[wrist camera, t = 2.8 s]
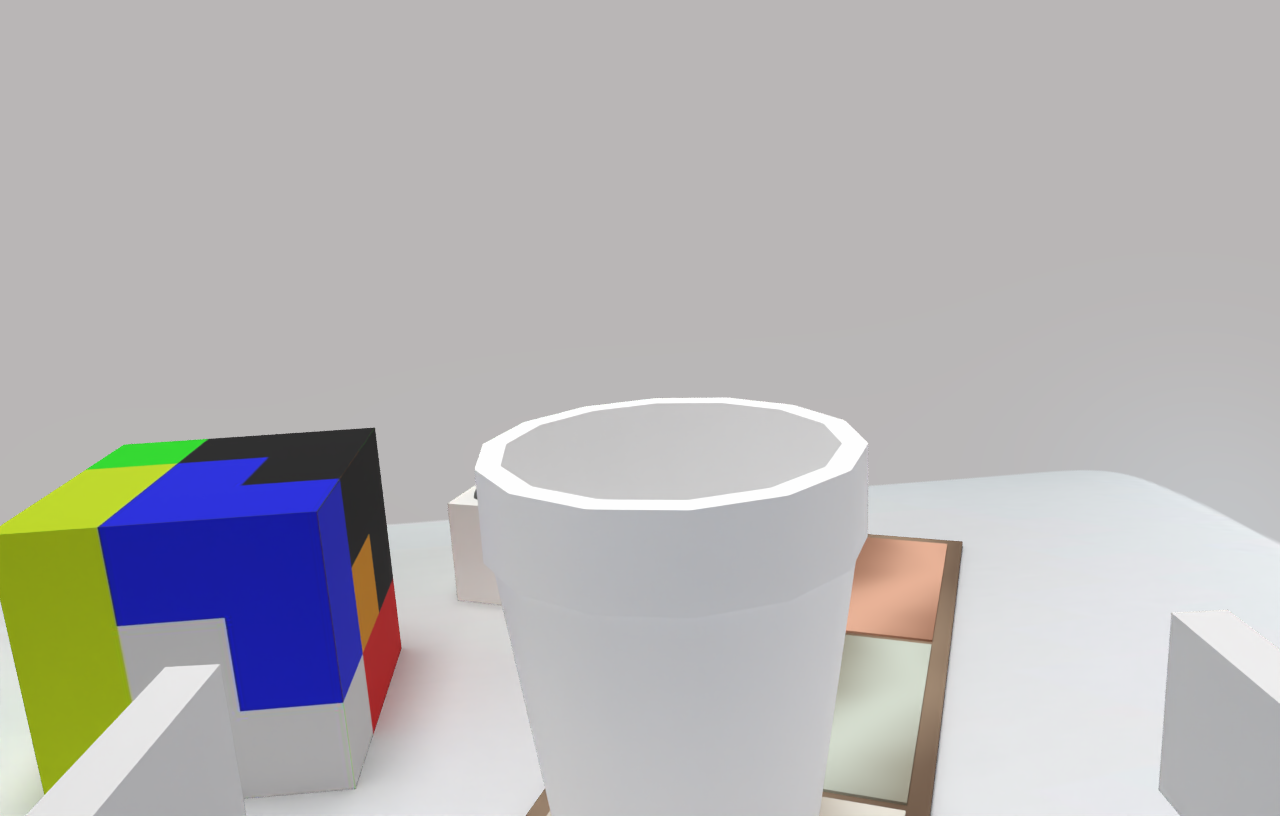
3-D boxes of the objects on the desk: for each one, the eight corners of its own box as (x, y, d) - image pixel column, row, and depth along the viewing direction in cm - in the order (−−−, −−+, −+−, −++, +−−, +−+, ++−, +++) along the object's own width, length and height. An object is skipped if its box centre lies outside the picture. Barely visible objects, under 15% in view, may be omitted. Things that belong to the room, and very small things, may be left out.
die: (457, 602, 48) (446, 492, 46) (505, 561, 52) (496, 460, 51) (552, 613, 46) (543, 499, 45) (593, 570, 51) (586, 465, 49)
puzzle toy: (355, 791, 34) (316, 511, 31) (49, 818, 33) (-15, 535, 31) (401, 649, 43) (374, 427, 41) (165, 668, 43) (123, 444, 40)
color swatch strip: (381, 1026, 24) (379, 1016, 24) (734, 527, 55) (733, 521, 55) (887, 1172, 20) (887, 1162, 20) (962, 545, 51) (962, 539, 51)
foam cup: (554, 1089, 22) (505, 538, 19) (494, 830, 31) (453, 422, 27) (934, 975, 25) (947, 471, 21) (779, 765, 33) (772, 384, 30)
